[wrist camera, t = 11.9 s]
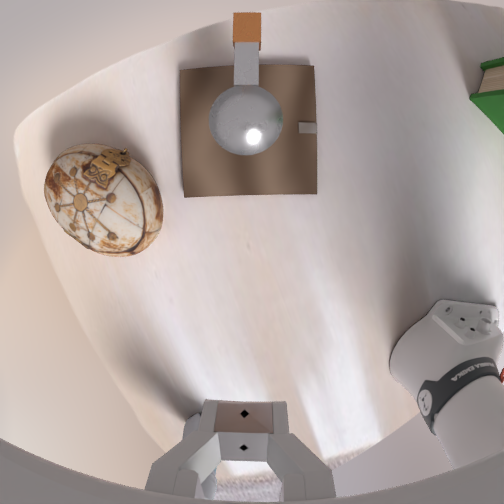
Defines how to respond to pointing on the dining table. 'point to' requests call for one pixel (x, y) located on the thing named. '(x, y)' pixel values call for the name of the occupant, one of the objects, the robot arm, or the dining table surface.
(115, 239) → the trinket box
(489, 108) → the hardback book
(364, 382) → the dining table surface
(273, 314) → the dining table surface
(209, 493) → the bottle
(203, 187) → the base
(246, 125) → the lever handle
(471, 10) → the dining table surface
